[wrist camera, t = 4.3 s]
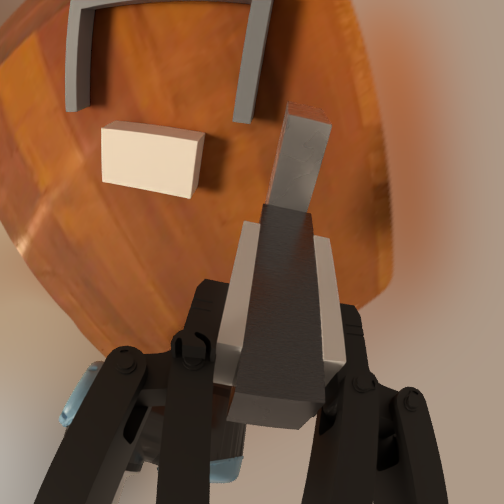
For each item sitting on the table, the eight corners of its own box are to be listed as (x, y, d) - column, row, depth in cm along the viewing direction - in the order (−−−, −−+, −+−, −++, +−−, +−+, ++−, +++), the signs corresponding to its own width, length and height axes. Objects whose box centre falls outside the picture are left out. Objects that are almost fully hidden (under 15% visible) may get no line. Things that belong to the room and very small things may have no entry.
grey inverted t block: (281, 267, 23) (268, 456, 12) (248, 261, 23) (216, 449, 12) (326, 110, 15) (420, 282, 4) (283, 99, 15) (276, 252, 4)
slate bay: (252, 117, 26) (249, 124, 24) (79, 106, 26) (65, 112, 24) (275, -8, 18) (274, -13, 16) (85, -1, 18) (71, -2, 16)
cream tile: (198, 185, 31) (190, 198, 29) (115, 170, 31) (102, 181, 28) (205, 132, 27) (197, 141, 25) (116, 120, 27) (101, 128, 25)
